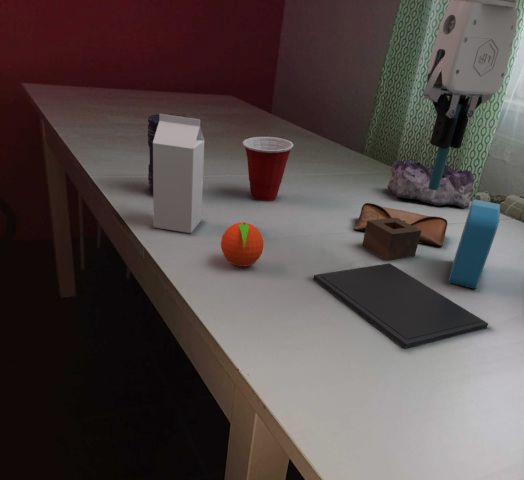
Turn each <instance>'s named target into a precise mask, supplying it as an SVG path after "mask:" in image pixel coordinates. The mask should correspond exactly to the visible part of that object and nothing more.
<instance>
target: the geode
mask: <svg viewBox="0 0 524 480" xmlns="http://www.w3.org/2000/svg"><path fill="white" fill-rule="evenodd" d="M433 167H434V166H425V165H423V164H422V163H421V162H420V161H418V162H416V163H415V162H414V161H412V160H406V161H405V162H404V161H401V160H397V161H393V163H392V164H391V166H390V171H391V177H390V178H389V181H388V184H387V186H386V188H387V190H389V191H390V192H392V193H393V194H394V195H395V196H396V197H397V198H403V199H411V200H418V201H421V202H423V203H428V204H431V205H433V206H439V207H441V206H446V205H451V206H452V205H453V206H457V207H459V208H461V209H466V208H469V205H470V203H471V195H472V194H473V192H474V183H475V177H474V174H473V173H472V171H471V170H468V169H465V170H461V169H459V168H458V167H456V168H455V169H454V168H452V167H451V166H449V165H447V164H445V167H444V171H443V174H442V178H441V182H440V185H439V189H438V190H436V192H435V196H434V199H430V198H428V194H429V190H430V189H429V188H428V186H429V182H430V178H431V175H432V171H433Z"/></svg>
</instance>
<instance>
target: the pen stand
mask: <svg viewBox="0 0 524 480" xmlns="http://www.w3.org/2000/svg"><path fill="white" fill-rule="evenodd" d="M420 235H421V230H419V229H418V228H416V227H414V226H412V225H410V224H408V223H406V222H404V221H402V220H400V219H398V218H387V219H377V220H368V221H367V225H366V230H365V231H364V235H363V240H362V243H361V244H362V245H361V247H363V248H365V249H367V250H368V251H370V252H372V254H375V256H378V257H379V258H381V259H383V260H385V261H392V260H398V259H404V258H406V259H407V258H413V257H415V256H416V252H417V249H418V245H419V243H418V242H419V238H420Z"/></svg>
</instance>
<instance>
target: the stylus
mask: <svg viewBox="0 0 524 480" xmlns="http://www.w3.org/2000/svg"><path fill="white" fill-rule="evenodd" d="M460 109H461V104H458V103H457V107H456V111H455V115H454V116H453V118H456V123H457V120H458V116H459V112H460ZM455 127H456V124H455ZM454 131H455V128H454ZM454 131H453V134H454ZM452 138H453V135H452ZM451 142H452V139H451ZM451 142H450V145H451ZM450 148H451V147H450V146H449V148H448V149H443V148H440V147H438V149H437V153H436V156H435V160H434V164H433V166H432V167H433V171H432V175H431V178H430V182H429V186H428V188H429V189H430V190H429V194H428V198H430V199H434V196H435V192H436V190H438V189H439V185H440V182H441V178H442V174H443V171H444V167H445V165H446V163H447V161H448V157H449V153H450Z"/></svg>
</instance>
